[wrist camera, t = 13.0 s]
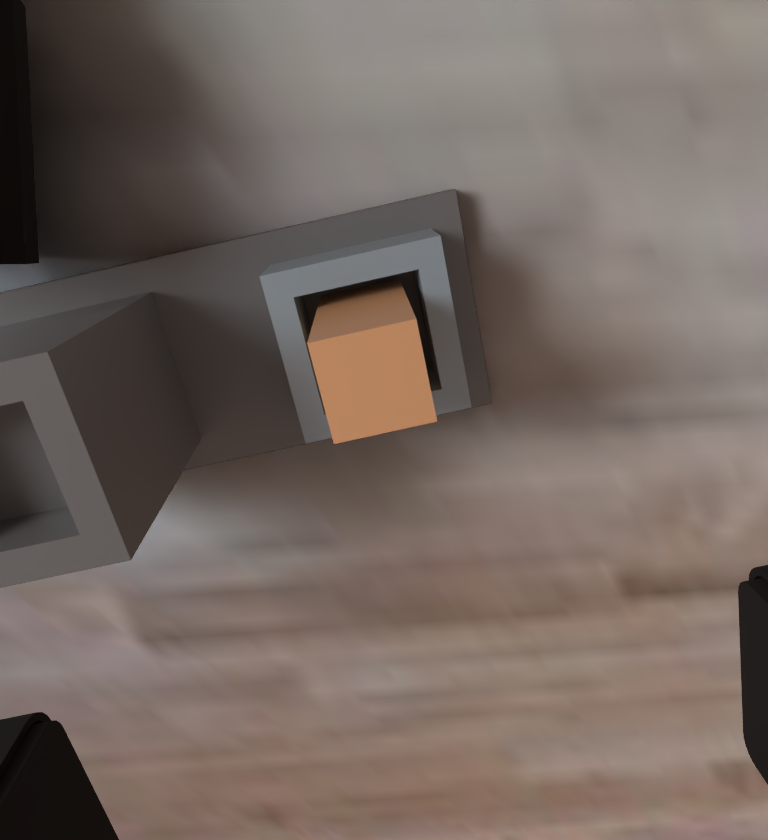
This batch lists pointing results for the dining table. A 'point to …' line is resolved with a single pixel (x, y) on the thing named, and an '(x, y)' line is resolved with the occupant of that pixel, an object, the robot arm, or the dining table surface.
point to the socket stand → (199, 370)
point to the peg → (370, 362)
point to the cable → (16, 141)
